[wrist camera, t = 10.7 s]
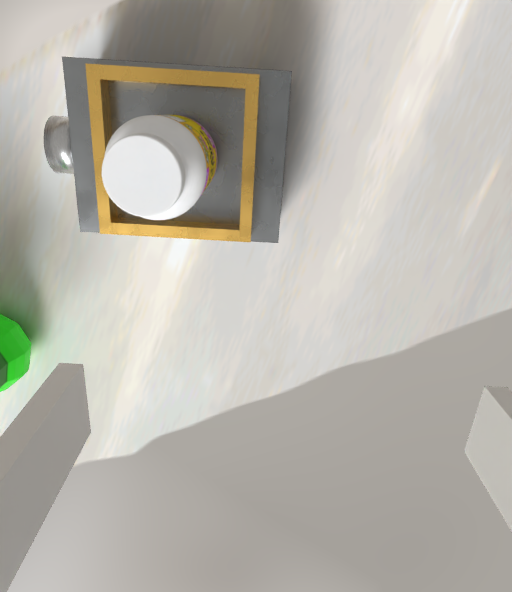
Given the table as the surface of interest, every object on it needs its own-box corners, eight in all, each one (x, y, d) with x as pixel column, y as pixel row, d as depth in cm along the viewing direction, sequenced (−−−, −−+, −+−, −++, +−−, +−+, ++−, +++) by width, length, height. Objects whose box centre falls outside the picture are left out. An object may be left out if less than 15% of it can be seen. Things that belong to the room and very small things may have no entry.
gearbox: (286, 77, 42) (293, 69, 33) (275, 222, 47) (278, 249, 38) (65, 64, 41) (10, 51, 32) (80, 210, 47) (36, 235, 38)
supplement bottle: (216, 199, 38) (196, 239, 27) (140, 193, 38) (87, 230, 26) (220, 117, 36) (200, 121, 24) (139, 110, 36) (79, 110, 24)
